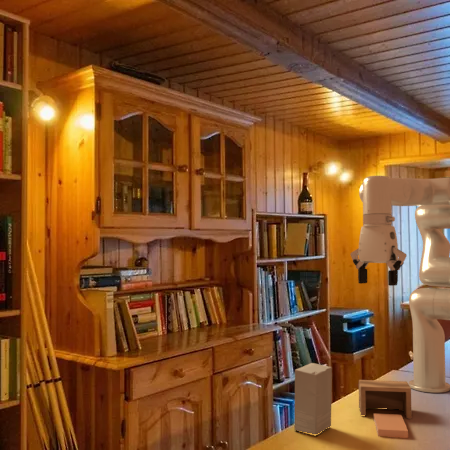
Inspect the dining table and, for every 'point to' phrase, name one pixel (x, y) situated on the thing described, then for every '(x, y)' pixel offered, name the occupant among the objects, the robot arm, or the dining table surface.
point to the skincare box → (313, 398)
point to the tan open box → (385, 395)
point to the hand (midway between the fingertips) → (377, 284)
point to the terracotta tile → (390, 425)
